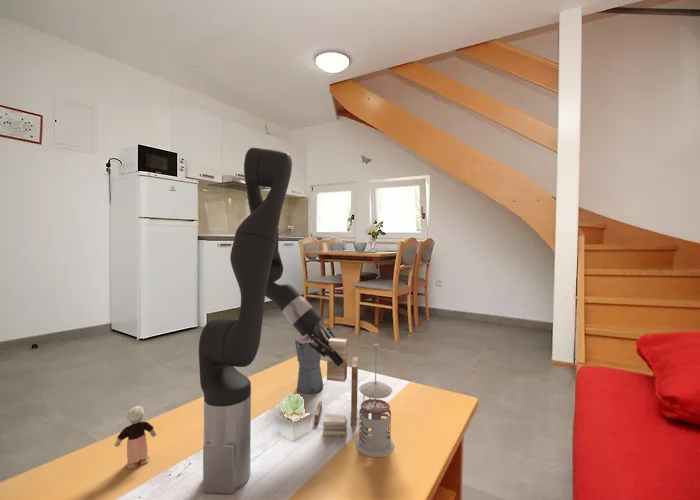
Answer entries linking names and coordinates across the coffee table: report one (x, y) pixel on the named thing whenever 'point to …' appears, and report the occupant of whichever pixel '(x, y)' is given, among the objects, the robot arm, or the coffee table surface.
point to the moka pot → (308, 366)
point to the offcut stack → (335, 425)
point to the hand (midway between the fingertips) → (342, 361)
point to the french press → (375, 419)
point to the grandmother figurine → (136, 437)
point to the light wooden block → (332, 369)
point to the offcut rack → (353, 396)
